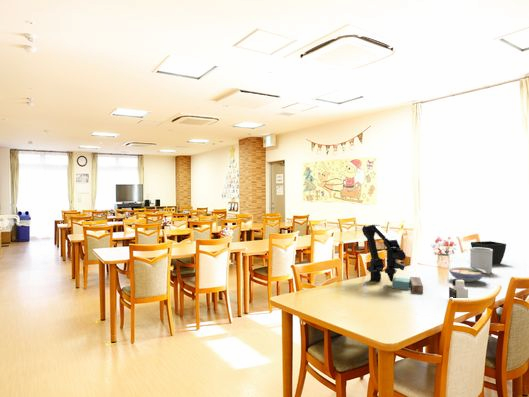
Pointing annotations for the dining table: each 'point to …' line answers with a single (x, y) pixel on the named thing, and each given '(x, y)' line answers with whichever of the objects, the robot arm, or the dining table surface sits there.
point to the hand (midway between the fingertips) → (391, 281)
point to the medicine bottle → (458, 289)
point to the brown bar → (416, 285)
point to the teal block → (401, 283)
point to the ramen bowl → (467, 273)
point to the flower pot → (495, 246)
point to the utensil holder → (481, 258)
